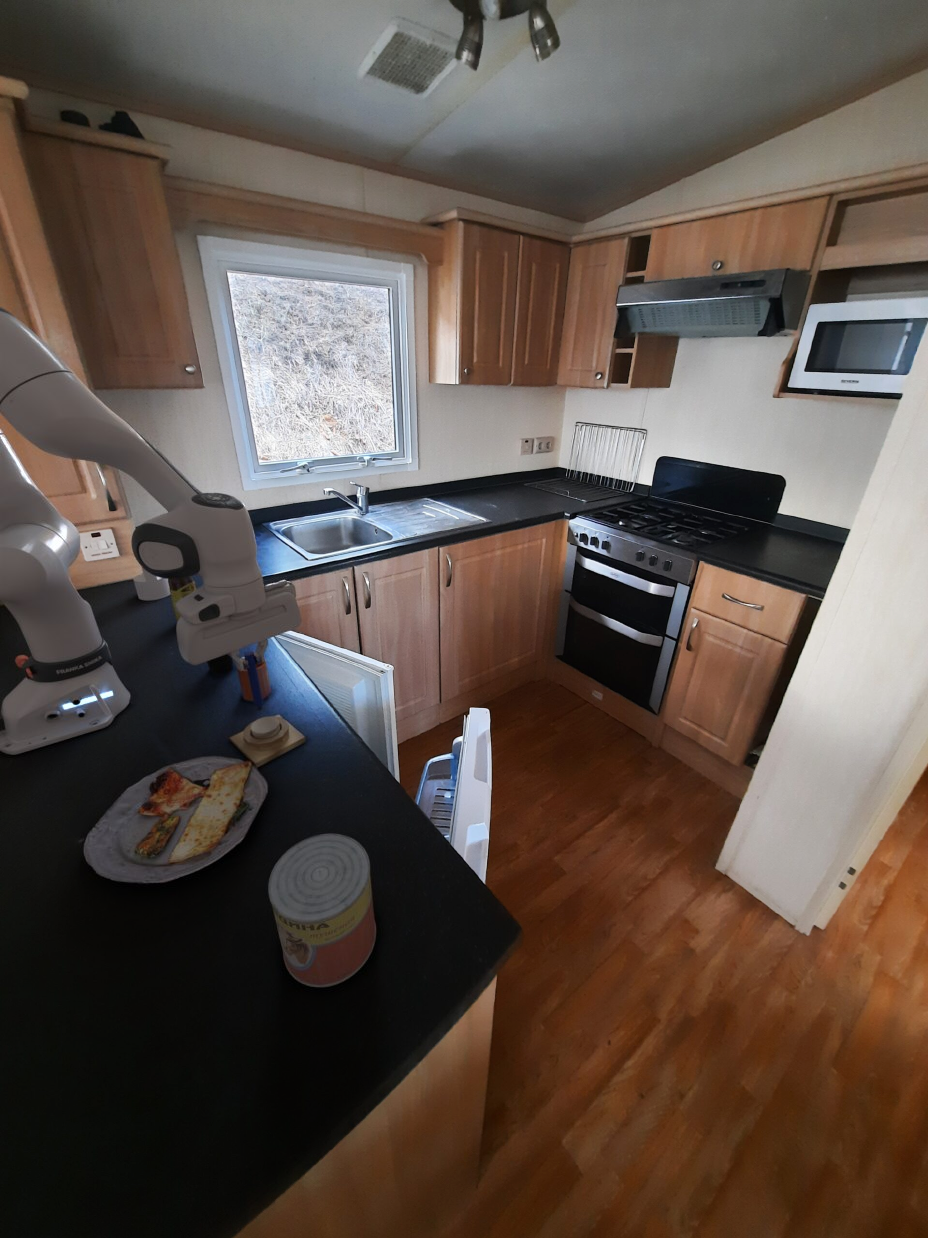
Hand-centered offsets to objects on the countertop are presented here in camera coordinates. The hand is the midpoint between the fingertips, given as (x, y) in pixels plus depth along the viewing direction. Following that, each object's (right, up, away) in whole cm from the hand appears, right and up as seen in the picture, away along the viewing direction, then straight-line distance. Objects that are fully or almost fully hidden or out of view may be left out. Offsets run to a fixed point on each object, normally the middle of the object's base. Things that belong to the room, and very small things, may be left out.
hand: (251, 665), depth 90 cm
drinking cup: (-19, -4, +28) cm, 34 cm away
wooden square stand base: (+1, -15, +6) cm, 17 cm away
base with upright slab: (-58, +16, +67) cm, 90 cm away
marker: (0, -8, +4) cm, 10 cm away
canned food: (+21, -32, -26) cm, 46 cm away
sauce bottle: (-38, +7, +51) cm, 64 cm away
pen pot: (-7, -8, +20) cm, 23 cm away
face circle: (+1, -13, +5) cm, 14 cm away
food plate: (-6, -23, -10) cm, 26 cm away
